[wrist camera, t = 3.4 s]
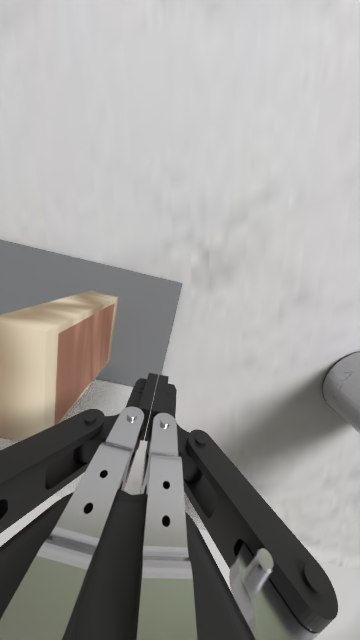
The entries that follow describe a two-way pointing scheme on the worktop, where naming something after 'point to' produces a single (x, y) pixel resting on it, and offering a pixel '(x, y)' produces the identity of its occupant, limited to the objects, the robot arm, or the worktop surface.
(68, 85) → the worktop surface
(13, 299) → the rubber mat
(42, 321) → the cream brown rectangular block
